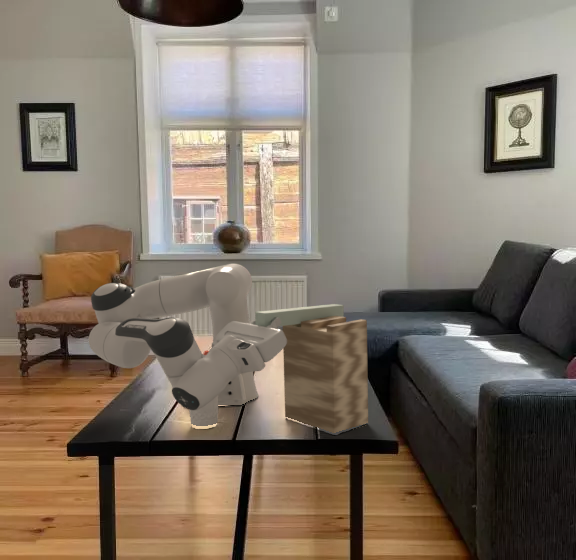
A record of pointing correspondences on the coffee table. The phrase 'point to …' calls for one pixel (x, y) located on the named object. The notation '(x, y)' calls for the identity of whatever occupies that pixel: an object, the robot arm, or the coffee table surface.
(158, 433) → the coffee table surface
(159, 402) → the coffee table surface
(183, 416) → the coffee table surface
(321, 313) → the gray-green block
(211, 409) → the white cup
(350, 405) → the wooden box
